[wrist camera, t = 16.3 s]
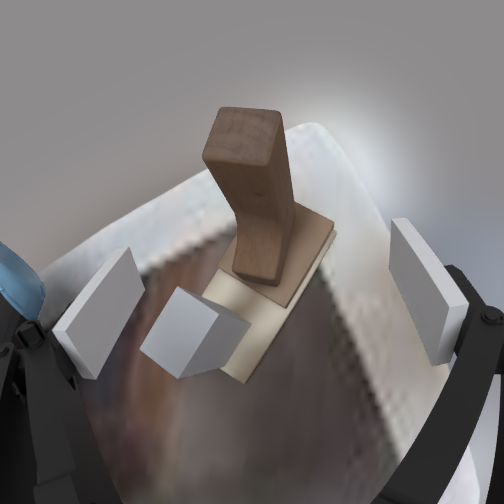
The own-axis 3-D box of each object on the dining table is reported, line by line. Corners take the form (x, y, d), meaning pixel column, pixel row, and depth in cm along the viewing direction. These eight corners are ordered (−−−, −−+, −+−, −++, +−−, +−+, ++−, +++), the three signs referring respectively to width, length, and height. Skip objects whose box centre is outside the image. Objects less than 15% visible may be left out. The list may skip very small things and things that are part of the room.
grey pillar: (197, 347, 37) (139, 348, 24) (223, 306, 38) (177, 286, 25) (224, 366, 36) (177, 379, 23) (251, 324, 37) (218, 314, 23)
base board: (180, 337, 39) (167, 336, 35) (267, 199, 42) (263, 186, 38) (246, 382, 36) (239, 387, 33) (335, 235, 39) (338, 224, 36)
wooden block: (278, 288, 35) (248, 235, 18) (239, 279, 36) (176, 222, 19) (296, 211, 37) (282, 108, 20) (258, 205, 38) (218, 104, 21)
